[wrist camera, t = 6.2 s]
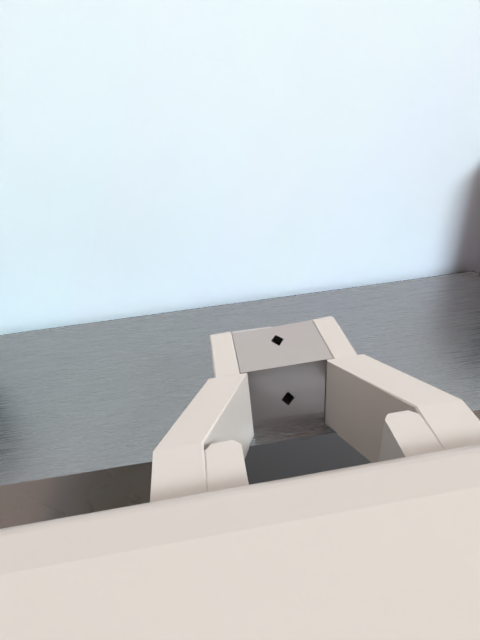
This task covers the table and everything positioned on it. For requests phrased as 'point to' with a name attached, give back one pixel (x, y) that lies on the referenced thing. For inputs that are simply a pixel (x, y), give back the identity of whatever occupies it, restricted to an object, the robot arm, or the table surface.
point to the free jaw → (186, 381)
